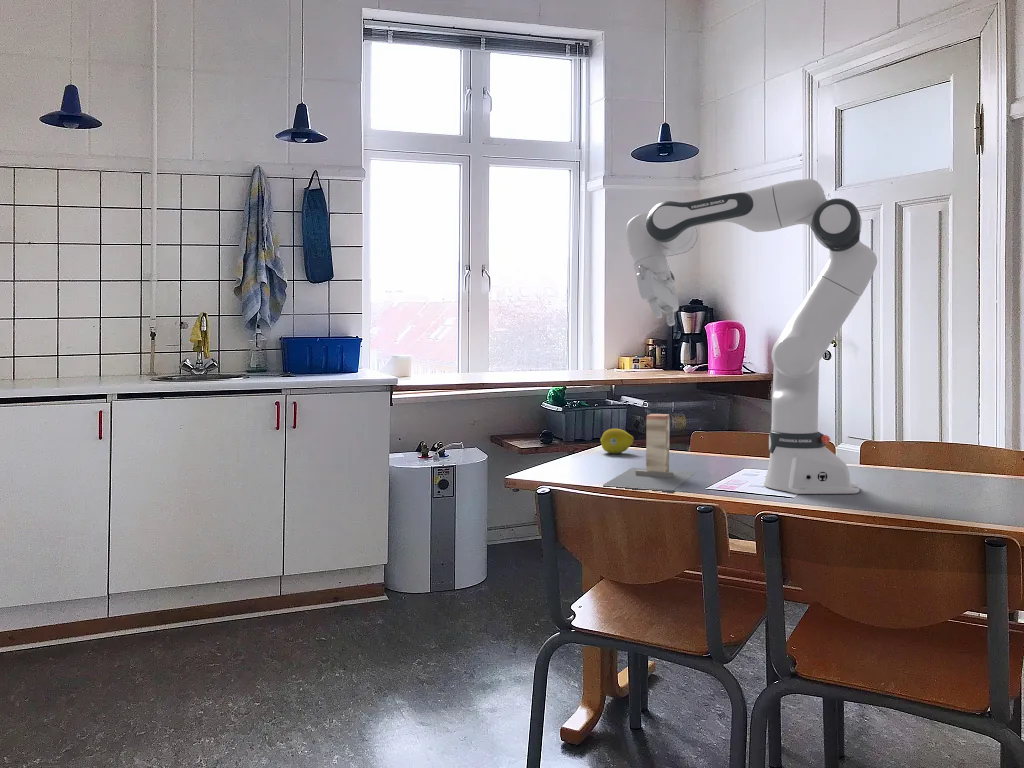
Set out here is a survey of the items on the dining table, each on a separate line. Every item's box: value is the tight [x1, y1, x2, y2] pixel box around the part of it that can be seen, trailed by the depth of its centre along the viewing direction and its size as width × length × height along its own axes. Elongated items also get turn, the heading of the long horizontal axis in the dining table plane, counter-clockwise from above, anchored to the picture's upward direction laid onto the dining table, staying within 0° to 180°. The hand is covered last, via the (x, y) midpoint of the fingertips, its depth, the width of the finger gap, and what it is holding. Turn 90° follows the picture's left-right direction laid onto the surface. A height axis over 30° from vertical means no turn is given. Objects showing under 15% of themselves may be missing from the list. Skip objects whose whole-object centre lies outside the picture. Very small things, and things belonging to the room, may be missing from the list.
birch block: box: [645, 413, 670, 472], centre depth 224 cm, size 5×5×16 cm
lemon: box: [599, 428, 634, 455], centre depth 263 cm, size 11×8×8 cm
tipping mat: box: [602, 467, 697, 494], centre depth 218 cm, size 26×18×2 cm
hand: (665, 321), depth 216 cm, fingers open, 8 cm apart
